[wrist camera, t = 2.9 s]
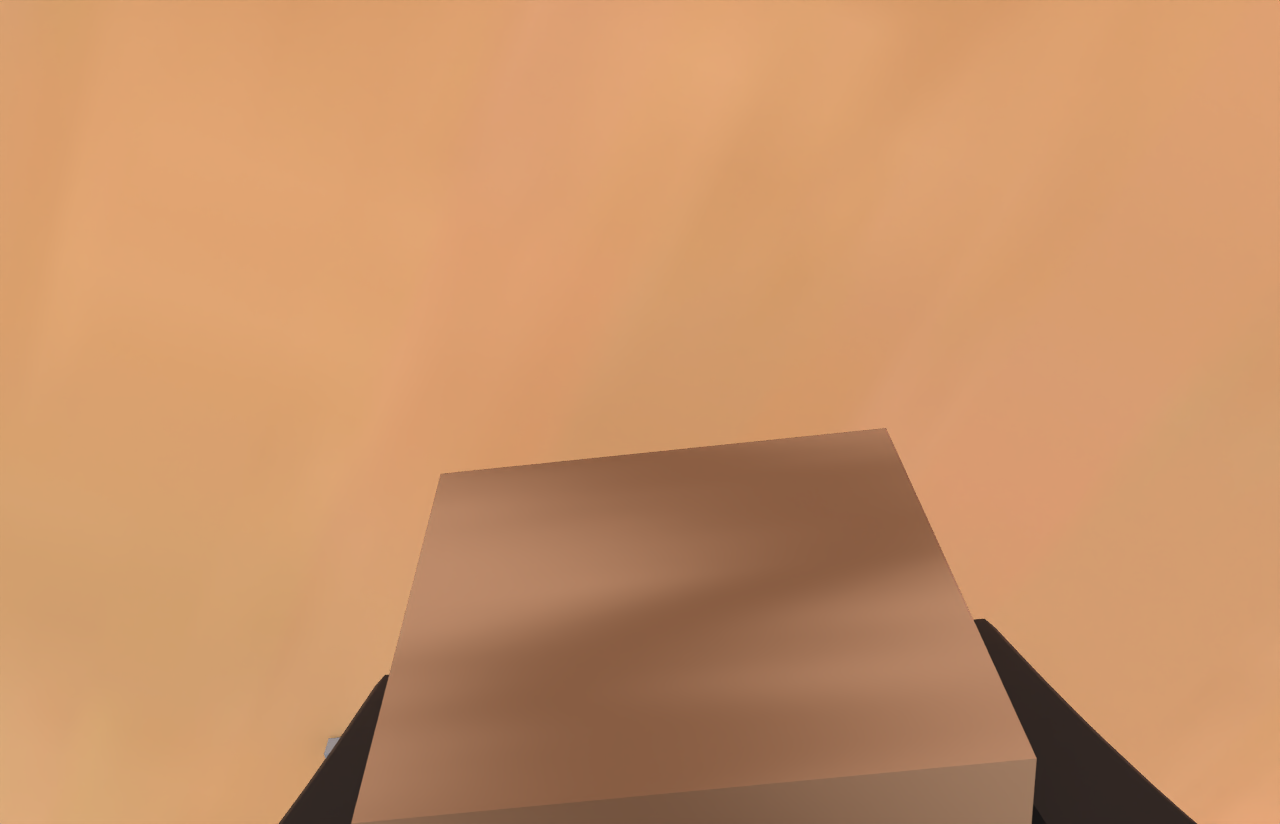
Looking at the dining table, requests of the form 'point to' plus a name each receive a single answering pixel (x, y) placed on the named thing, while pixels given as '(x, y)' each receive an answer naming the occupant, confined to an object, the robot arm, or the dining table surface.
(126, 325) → the dining table surface
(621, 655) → the walnut block
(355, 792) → the robot arm
